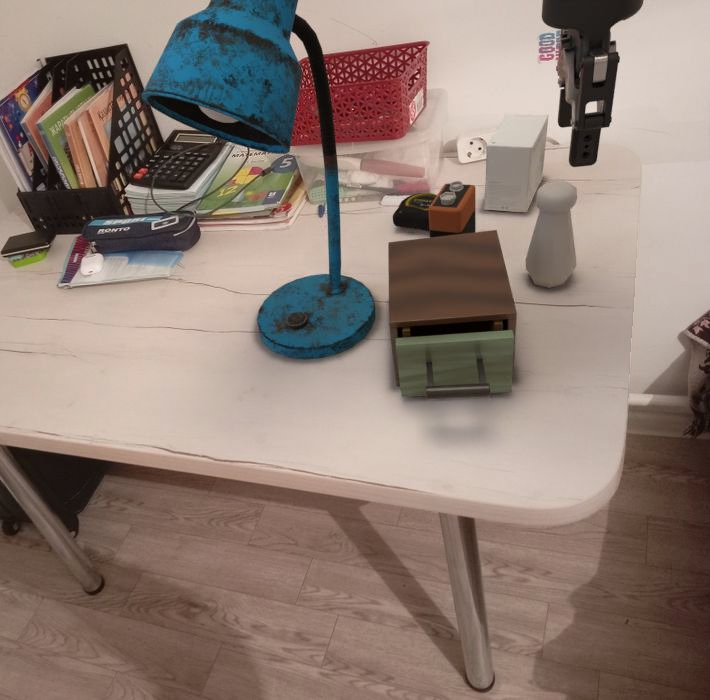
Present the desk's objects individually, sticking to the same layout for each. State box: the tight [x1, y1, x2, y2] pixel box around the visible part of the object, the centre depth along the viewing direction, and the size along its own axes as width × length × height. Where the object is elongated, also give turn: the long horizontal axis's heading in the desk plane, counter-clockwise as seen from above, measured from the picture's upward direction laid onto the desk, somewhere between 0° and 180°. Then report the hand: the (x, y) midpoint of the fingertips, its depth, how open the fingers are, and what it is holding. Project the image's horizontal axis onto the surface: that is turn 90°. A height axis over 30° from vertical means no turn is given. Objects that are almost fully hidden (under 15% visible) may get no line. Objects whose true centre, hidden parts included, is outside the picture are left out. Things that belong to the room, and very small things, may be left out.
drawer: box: [396, 320, 514, 401], centre depth 69 cm, size 19×11×8 cm, turn 169°
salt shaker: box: [525, 180, 578, 289], centre depth 75 cm, size 6×6×13 cm
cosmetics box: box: [483, 114, 549, 213], centre depth 92 cm, size 10×6×10 cm, turn 148°
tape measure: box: [392, 192, 438, 233], centre depth 94 cm, size 7×7×4 cm
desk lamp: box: [141, 0, 377, 360], centre depth 69 cm, size 16×22×45 cm
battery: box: [428, 180, 476, 238], centre depth 85 cm, size 4×7×10 cm, turn 147°
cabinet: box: [387, 229, 518, 386], centre depth 73 cm, size 16×13×10 cm
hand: (575, 143), depth 60 cm, fingers open, 8 cm apart
